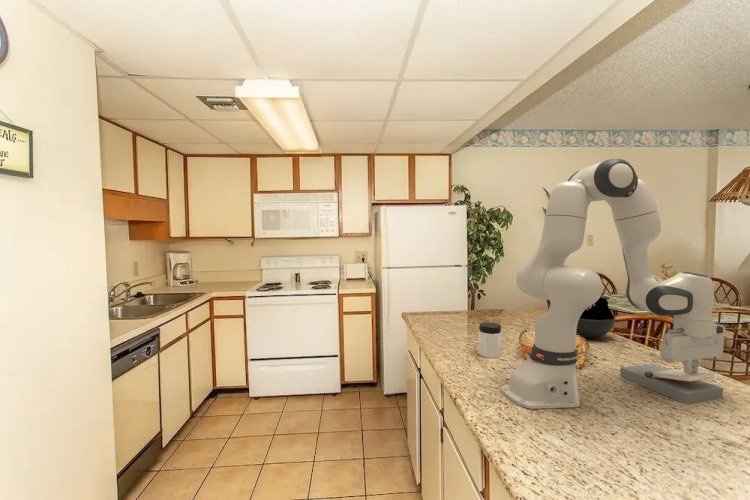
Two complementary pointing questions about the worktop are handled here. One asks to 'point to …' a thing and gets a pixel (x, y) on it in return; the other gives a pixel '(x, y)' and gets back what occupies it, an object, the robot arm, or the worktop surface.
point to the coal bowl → (596, 320)
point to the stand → (671, 384)
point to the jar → (490, 340)
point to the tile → (682, 375)
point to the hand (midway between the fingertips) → (690, 373)
